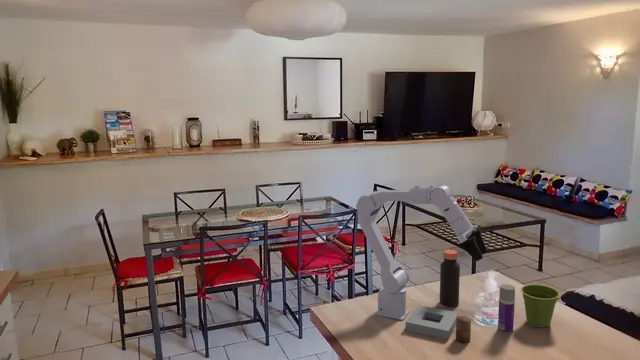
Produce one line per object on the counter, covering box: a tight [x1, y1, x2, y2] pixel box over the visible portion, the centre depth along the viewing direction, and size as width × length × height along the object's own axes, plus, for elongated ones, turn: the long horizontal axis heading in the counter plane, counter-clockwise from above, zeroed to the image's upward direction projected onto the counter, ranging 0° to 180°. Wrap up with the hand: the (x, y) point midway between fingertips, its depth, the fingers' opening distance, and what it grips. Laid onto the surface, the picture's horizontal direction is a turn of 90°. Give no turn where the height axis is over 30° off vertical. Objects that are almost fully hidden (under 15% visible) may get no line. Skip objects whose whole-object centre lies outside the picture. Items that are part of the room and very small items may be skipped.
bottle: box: [439, 249, 461, 308], centre depth 174 cm, size 7×7×20 cm
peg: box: [455, 315, 472, 344], centre depth 150 cm, size 4×4×7 cm
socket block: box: [405, 304, 460, 341], centre depth 160 cm, size 14×14×3 cm
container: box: [497, 283, 516, 335], centre depth 155 cm, size 5×5×15 cm
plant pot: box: [520, 283, 561, 328], centre depth 159 cm, size 12×12×11 cm
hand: (482, 256), depth 149 cm, fingers open, 7 cm apart
